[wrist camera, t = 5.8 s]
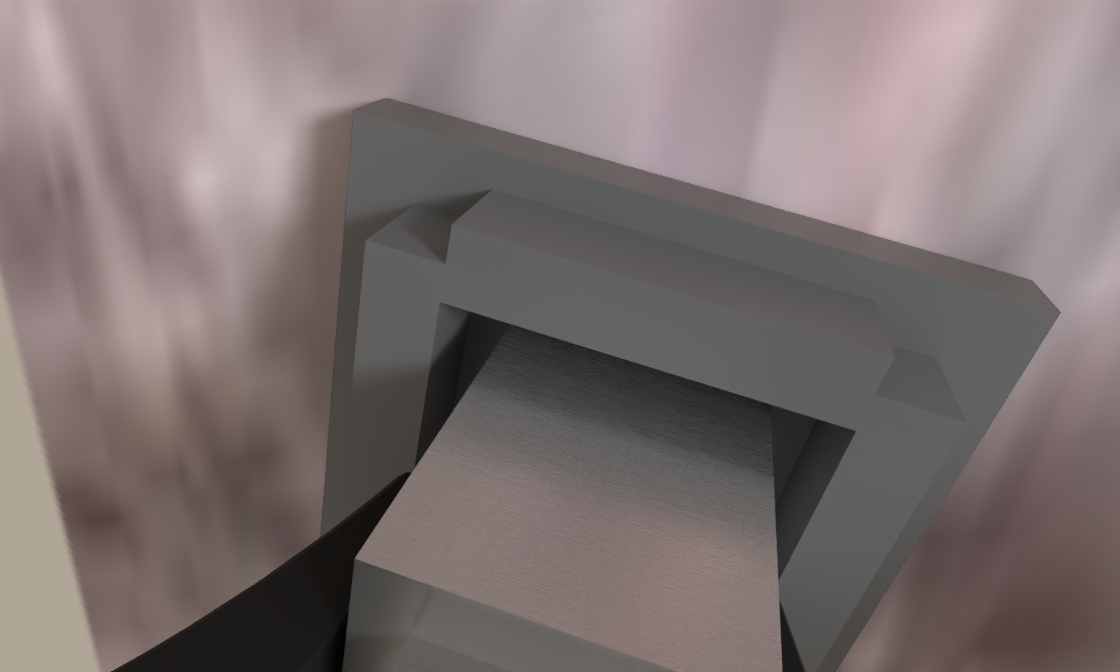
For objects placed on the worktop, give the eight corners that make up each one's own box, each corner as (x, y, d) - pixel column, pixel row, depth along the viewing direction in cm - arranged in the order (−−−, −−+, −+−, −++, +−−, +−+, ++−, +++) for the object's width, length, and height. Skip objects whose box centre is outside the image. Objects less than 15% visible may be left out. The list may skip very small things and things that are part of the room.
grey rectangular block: (768, 381, 10) (787, 786, 5) (673, 606, 12) (620, 1040, 7) (523, 306, 10) (315, 617, 5) (472, 538, 12) (293, 909, 8)
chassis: (1032, 281, 10) (1116, 374, 7) (688, 863, 17) (678, 997, 15) (386, 98, 10) (290, 133, 8) (324, 727, 18) (265, 834, 15)
